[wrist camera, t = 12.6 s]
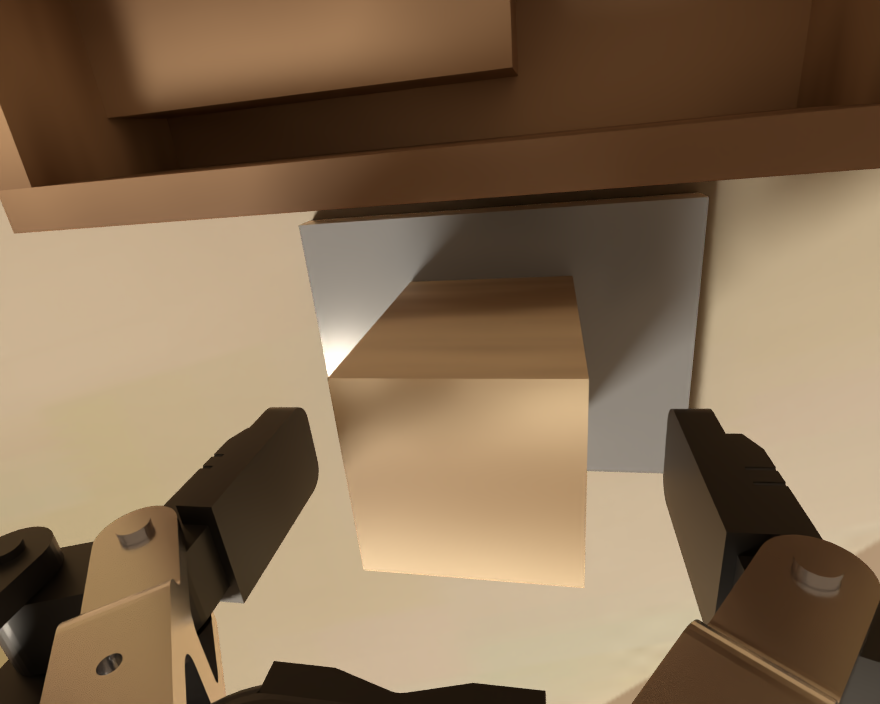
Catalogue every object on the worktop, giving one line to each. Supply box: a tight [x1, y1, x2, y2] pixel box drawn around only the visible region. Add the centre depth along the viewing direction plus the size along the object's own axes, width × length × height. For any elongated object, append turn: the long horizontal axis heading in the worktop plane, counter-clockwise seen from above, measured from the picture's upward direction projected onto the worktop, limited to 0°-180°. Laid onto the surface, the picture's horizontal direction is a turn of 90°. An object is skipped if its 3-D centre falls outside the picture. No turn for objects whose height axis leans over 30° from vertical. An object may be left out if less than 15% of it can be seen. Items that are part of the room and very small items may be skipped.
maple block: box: [328, 276, 589, 588], centre depth 14 cm, size 5×5×7 cm
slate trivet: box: [299, 192, 709, 473], centre depth 18 cm, size 9×12×1 cm
